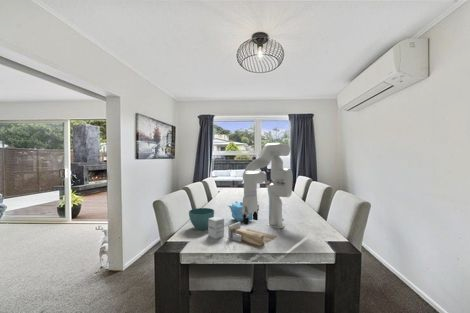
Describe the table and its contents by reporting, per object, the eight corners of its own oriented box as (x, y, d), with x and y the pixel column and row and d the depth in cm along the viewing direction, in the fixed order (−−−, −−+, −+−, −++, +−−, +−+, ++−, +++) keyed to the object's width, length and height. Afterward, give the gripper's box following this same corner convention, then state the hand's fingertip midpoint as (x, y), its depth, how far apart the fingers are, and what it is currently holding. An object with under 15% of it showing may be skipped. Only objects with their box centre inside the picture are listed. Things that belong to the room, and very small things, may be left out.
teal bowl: (209, 233, 151) (209, 215, 151) (184, 231, 155) (184, 213, 155) (217, 224, 169) (217, 208, 169) (194, 223, 172) (194, 207, 172)
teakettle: (248, 225, 168) (248, 205, 168) (226, 222, 175) (226, 203, 175) (256, 218, 185) (256, 200, 185) (235, 216, 192) (235, 199, 192)
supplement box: (207, 238, 142) (207, 218, 142) (217, 235, 147) (216, 216, 147) (215, 241, 137) (215, 220, 136) (224, 238, 142) (224, 218, 142)
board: (247, 231, 155) (247, 228, 155) (277, 238, 140) (277, 236, 140) (226, 240, 138) (226, 238, 138) (258, 250, 123) (258, 247, 123)
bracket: (239, 234, 145) (239, 221, 145) (250, 237, 139) (250, 224, 139) (228, 239, 136) (228, 226, 136) (239, 242, 131) (239, 228, 131)
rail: (239, 236, 141) (239, 228, 140) (263, 243, 129) (263, 234, 129) (235, 238, 137) (235, 230, 137) (260, 245, 126) (260, 236, 126)
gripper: (253, 190, 142) (253, 217, 142) (236, 195, 128) (236, 224, 129) (263, 191, 137) (263, 219, 137) (246, 196, 123) (247, 227, 124)
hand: (250, 222), depth 133 cm, fingers open, 9 cm apart
